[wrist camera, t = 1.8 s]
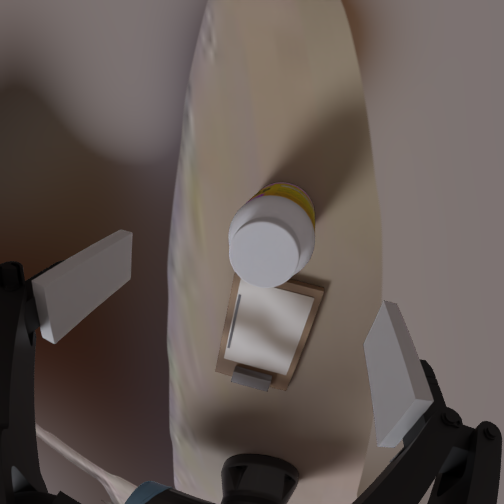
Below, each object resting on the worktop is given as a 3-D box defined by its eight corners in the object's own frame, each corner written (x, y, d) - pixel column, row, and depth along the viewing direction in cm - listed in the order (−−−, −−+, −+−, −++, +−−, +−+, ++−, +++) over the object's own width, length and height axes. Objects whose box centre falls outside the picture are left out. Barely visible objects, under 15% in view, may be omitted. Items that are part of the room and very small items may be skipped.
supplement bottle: (275, 168, 30) (251, 183, 19) (327, 207, 31) (337, 246, 19) (239, 219, 33) (197, 263, 21) (289, 255, 33) (275, 318, 21)
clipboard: (286, 386, 40) (285, 396, 38) (217, 367, 41) (212, 377, 39) (323, 287, 34) (324, 296, 32) (237, 264, 35) (233, 272, 33)
